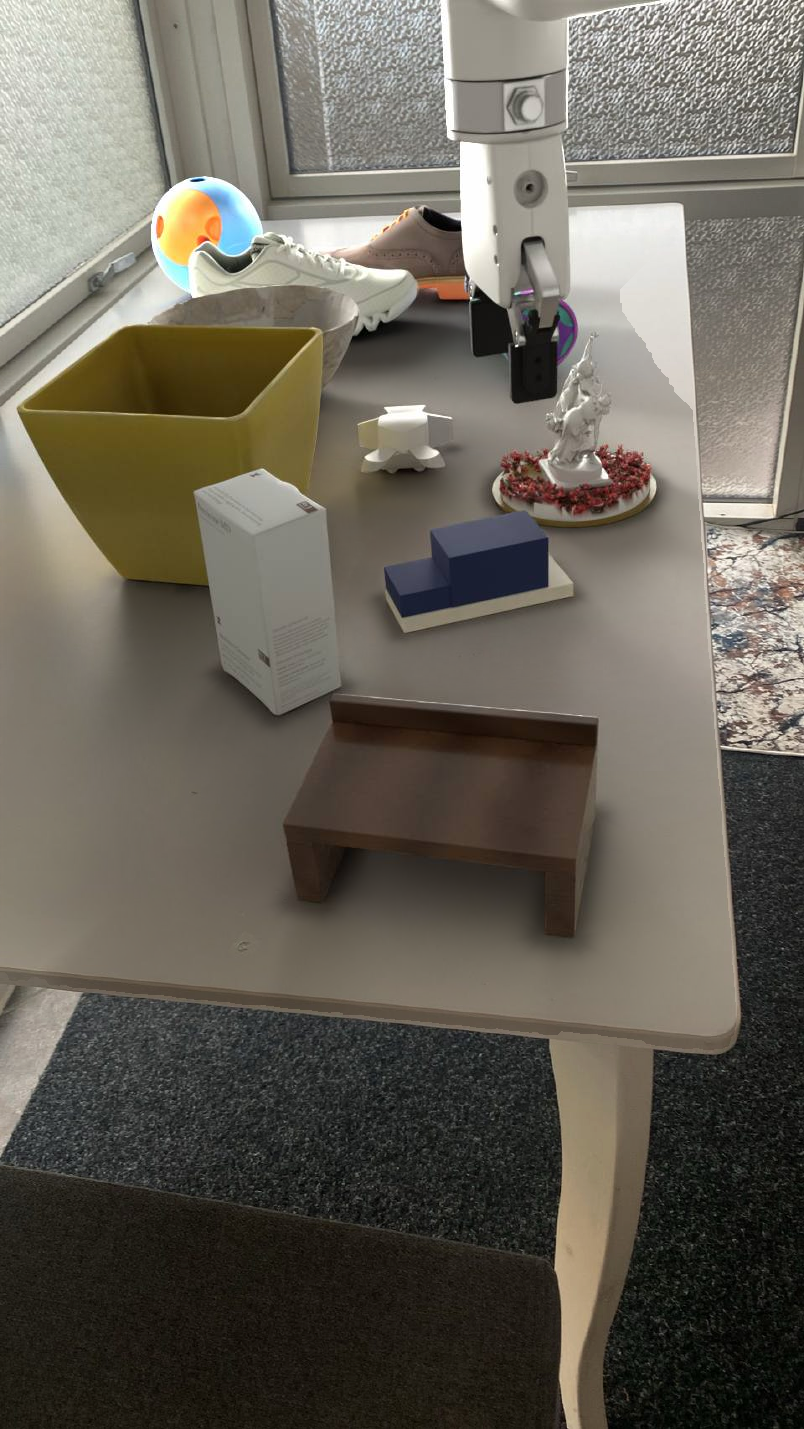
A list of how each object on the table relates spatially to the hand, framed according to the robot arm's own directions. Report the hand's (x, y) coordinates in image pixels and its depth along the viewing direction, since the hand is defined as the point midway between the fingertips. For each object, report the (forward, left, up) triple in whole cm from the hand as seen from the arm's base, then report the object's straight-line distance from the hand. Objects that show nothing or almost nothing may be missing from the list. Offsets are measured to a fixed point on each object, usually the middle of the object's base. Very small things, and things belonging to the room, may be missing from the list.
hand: (512, 375), depth 79 cm
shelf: (-1, +31, -18) cm, 36 cm away
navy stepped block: (+3, +2, -18) cm, 18 cm away
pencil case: (+9, -54, -18) cm, 58 cm away
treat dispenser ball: (+57, -76, -18) cm, 97 cm away
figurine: (-2, -18, -18) cm, 26 cm away
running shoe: (+38, -60, -18) cm, 73 cm away
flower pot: (+28, -3, -18) cm, 33 cm away
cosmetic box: (+15, +15, -18) cm, 27 cm away
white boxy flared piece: (+15, -22, -18) cm, 32 cm away
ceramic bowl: (+35, -36, -18) cm, 53 cm away
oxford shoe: (+29, -77, -18) cm, 84 cm away
